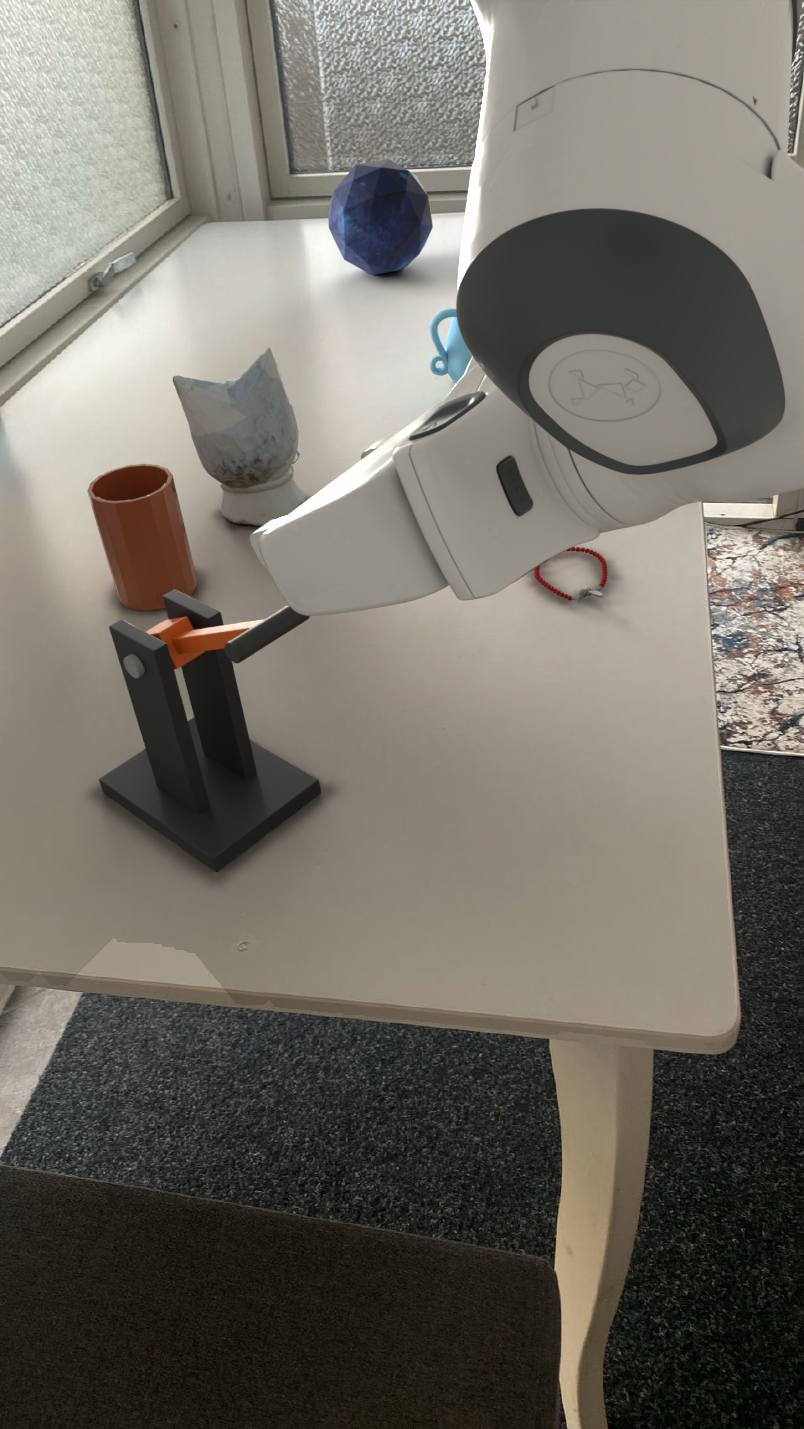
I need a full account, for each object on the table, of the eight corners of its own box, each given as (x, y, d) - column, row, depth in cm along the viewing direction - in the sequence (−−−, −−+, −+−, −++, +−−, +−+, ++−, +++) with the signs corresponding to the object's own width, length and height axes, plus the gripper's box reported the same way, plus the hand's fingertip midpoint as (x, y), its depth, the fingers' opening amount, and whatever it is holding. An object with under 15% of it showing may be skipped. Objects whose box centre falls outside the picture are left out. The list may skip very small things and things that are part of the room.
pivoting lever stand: (321, 792, 73) (289, 616, 64) (216, 872, 68) (166, 693, 60) (205, 724, 80) (162, 556, 71) (102, 792, 75) (43, 621, 66)
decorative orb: (457, 238, 150) (428, 129, 150) (350, 258, 147) (320, 147, 147) (433, 281, 164) (406, 181, 164) (335, 300, 161) (308, 199, 161)
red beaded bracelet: (620, 602, 87) (621, 591, 86) (544, 610, 87) (543, 600, 86) (599, 547, 94) (599, 537, 93) (527, 555, 94) (527, 544, 93)
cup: (150, 619, 92) (120, 510, 85) (103, 594, 95) (71, 488, 89) (213, 583, 95) (188, 476, 89) (165, 561, 99) (138, 457, 93)
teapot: (596, 380, 122) (598, 274, 115) (522, 426, 114) (519, 316, 107) (485, 356, 130) (481, 256, 123) (409, 398, 123) (400, 293, 116)
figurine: (313, 480, 109) (290, 328, 100) (304, 526, 102) (278, 366, 92) (214, 487, 110) (182, 336, 100) (198, 533, 102) (162, 375, 93)
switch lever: (318, 628, 59) (299, 587, 58) (248, 674, 56) (227, 631, 56) (201, 643, 69) (183, 609, 69) (137, 682, 67) (117, 647, 66)
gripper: (627, 282, 52) (403, 368, 61) (397, 462, 38) (154, 537, 47) (672, 409, 54) (450, 473, 63) (469, 620, 41) (225, 662, 50)
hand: (321, 502), depth 55 cm, fingers open, 8 cm apart
